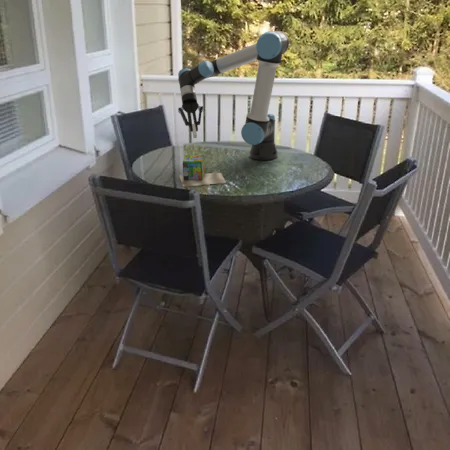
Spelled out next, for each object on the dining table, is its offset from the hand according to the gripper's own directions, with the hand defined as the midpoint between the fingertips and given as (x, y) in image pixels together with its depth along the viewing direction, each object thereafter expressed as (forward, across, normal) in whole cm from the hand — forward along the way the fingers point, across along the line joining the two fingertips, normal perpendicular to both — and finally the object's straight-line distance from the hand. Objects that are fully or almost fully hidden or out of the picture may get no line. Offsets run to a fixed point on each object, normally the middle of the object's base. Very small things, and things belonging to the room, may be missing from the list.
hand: (195, 136), depth 250 cm
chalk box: (+14, +2, -2) cm, 14 cm away
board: (+25, 0, +2) cm, 25 cm away
